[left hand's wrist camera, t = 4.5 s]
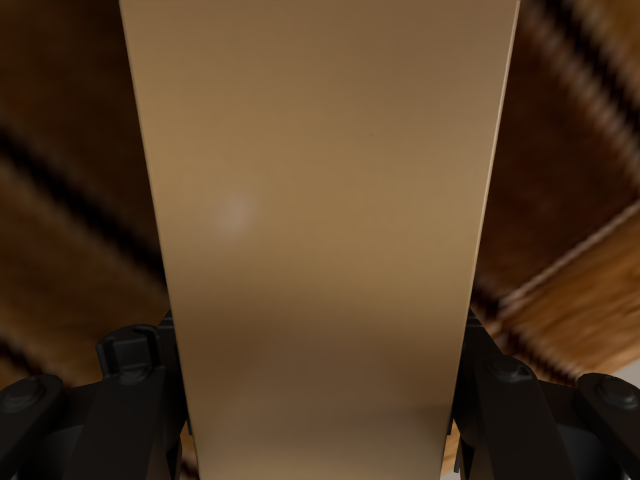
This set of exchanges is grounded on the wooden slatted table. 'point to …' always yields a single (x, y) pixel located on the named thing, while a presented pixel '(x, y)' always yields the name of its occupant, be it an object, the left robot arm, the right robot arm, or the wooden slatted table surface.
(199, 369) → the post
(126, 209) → the wooden slatted table surface
